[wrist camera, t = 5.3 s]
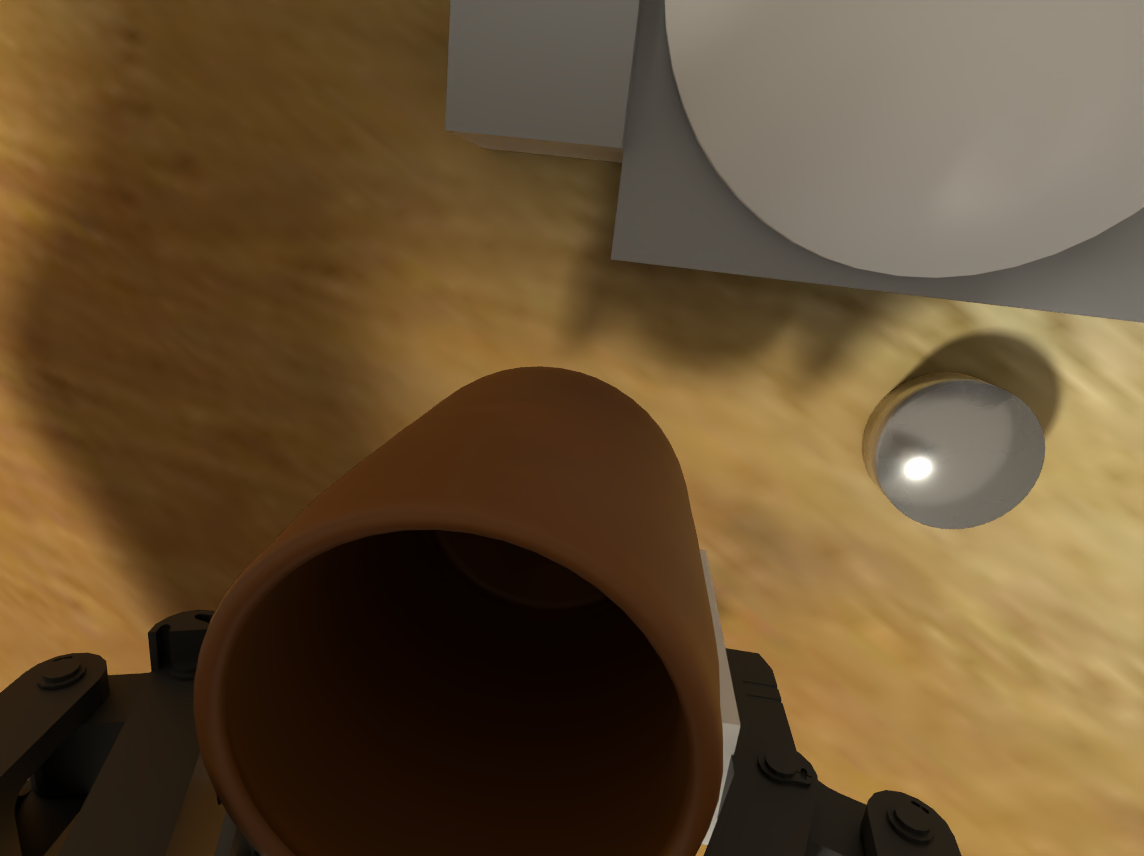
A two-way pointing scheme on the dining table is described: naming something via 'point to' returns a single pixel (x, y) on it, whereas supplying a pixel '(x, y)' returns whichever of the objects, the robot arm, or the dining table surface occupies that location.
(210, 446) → the dining table surface
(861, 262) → the scale
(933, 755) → the dining table surface
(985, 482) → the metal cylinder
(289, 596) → the mug
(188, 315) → the dining table surface
